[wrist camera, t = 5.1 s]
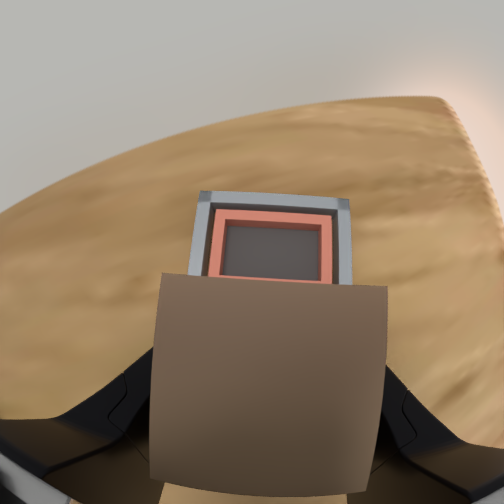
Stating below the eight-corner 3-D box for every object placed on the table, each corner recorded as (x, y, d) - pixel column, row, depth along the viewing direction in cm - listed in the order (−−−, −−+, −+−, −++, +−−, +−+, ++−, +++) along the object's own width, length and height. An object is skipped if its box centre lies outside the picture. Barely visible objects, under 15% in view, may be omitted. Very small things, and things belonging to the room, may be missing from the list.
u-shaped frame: (335, 425, 19) (341, 432, 17) (183, 415, 20) (175, 422, 18) (343, 209, 24) (349, 199, 22) (204, 201, 25) (199, 190, 23)
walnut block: (302, 398, 14) (365, 491, 4) (222, 393, 15) (150, 478, 4) (307, 321, 16) (387, 286, 5) (228, 316, 16) (162, 272, 6)
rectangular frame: (326, 296, 22) (331, 292, 20) (211, 289, 22) (207, 285, 21) (326, 224, 24) (331, 215, 22) (219, 218, 24) (216, 209, 22)
